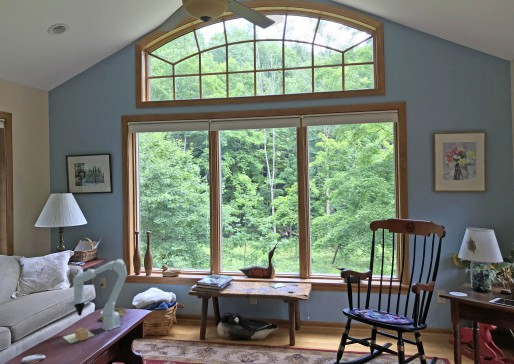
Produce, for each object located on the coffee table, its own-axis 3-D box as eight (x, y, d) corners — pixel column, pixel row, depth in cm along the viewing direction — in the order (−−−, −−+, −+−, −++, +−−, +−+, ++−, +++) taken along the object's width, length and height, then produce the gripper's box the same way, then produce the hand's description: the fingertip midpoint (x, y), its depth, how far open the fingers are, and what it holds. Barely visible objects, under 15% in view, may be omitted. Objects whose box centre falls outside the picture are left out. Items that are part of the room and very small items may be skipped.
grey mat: (86, 330, 236) (86, 329, 236) (94, 335, 228) (94, 334, 228) (62, 337, 226) (62, 336, 226) (70, 343, 218) (70, 342, 218)
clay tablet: (114, 311, 271) (96, 321, 252) (114, 304, 271) (96, 313, 252) (131, 313, 268) (114, 323, 249) (131, 306, 268) (114, 315, 249)
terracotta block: (82, 327, 228) (87, 331, 223) (82, 334, 228) (88, 338, 223) (75, 330, 225) (80, 333, 219) (75, 337, 225) (80, 340, 219)
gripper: (69, 297, 227) (69, 319, 227) (93, 292, 237) (93, 313, 238) (65, 295, 232) (65, 317, 232) (88, 290, 242) (89, 310, 242)
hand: (79, 315), depth 235 cm, fingers closed
